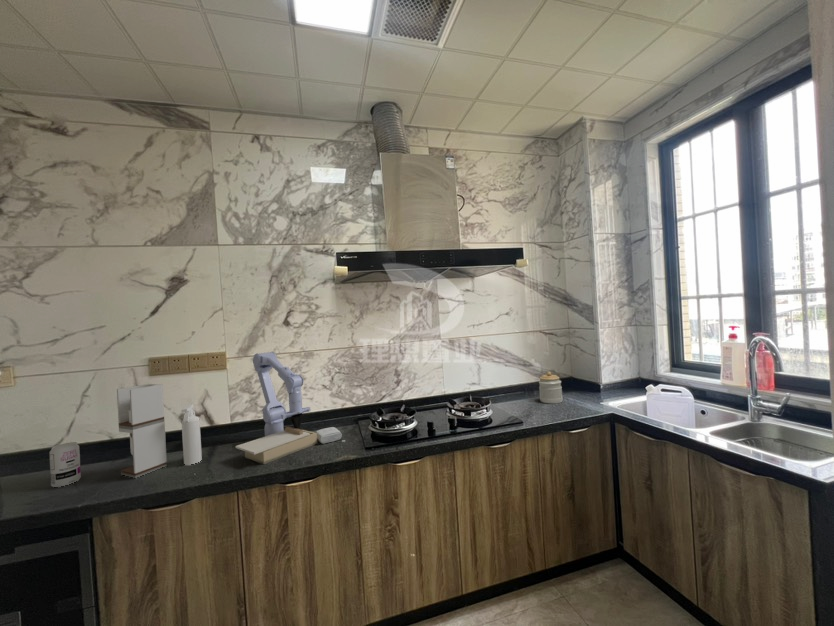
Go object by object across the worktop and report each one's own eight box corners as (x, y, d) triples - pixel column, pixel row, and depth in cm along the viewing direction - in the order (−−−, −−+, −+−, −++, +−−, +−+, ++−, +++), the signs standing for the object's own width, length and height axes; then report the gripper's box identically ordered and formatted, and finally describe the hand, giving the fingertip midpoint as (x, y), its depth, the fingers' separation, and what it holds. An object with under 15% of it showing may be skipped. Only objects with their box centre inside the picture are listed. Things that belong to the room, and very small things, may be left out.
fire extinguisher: (208, 454, 157) (202, 400, 156) (197, 466, 145) (191, 407, 144) (191, 457, 155) (186, 402, 155) (179, 469, 143) (173, 409, 143)
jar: (542, 404, 202) (539, 374, 202) (538, 399, 215) (535, 370, 215) (565, 403, 200) (563, 373, 200) (560, 398, 213) (557, 369, 213)
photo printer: (342, 439, 164) (334, 433, 175) (341, 430, 164) (334, 425, 175) (320, 445, 159) (314, 438, 170) (320, 435, 159) (313, 429, 170)
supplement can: (64, 479, 140) (62, 442, 140) (86, 477, 140) (84, 440, 141) (44, 489, 132) (42, 450, 132) (68, 487, 132) (66, 447, 133)
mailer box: (245, 457, 150) (244, 445, 151) (297, 438, 171) (296, 428, 171) (264, 464, 141) (263, 452, 141) (317, 443, 161) (316, 432, 162)
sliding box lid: (235, 448, 148) (235, 441, 148) (290, 430, 168) (289, 424, 168) (254, 454, 138) (254, 448, 138) (309, 434, 159) (309, 429, 159)
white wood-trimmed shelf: (152, 464, 150) (148, 383, 151) (166, 466, 146) (162, 384, 147) (121, 475, 140) (116, 389, 141) (135, 478, 136) (130, 389, 136)
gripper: (286, 405, 155) (288, 436, 154) (313, 398, 166) (315, 426, 166) (277, 404, 159) (279, 434, 158) (304, 397, 170) (306, 425, 170)
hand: (297, 430), depth 162 cm, fingers closed
